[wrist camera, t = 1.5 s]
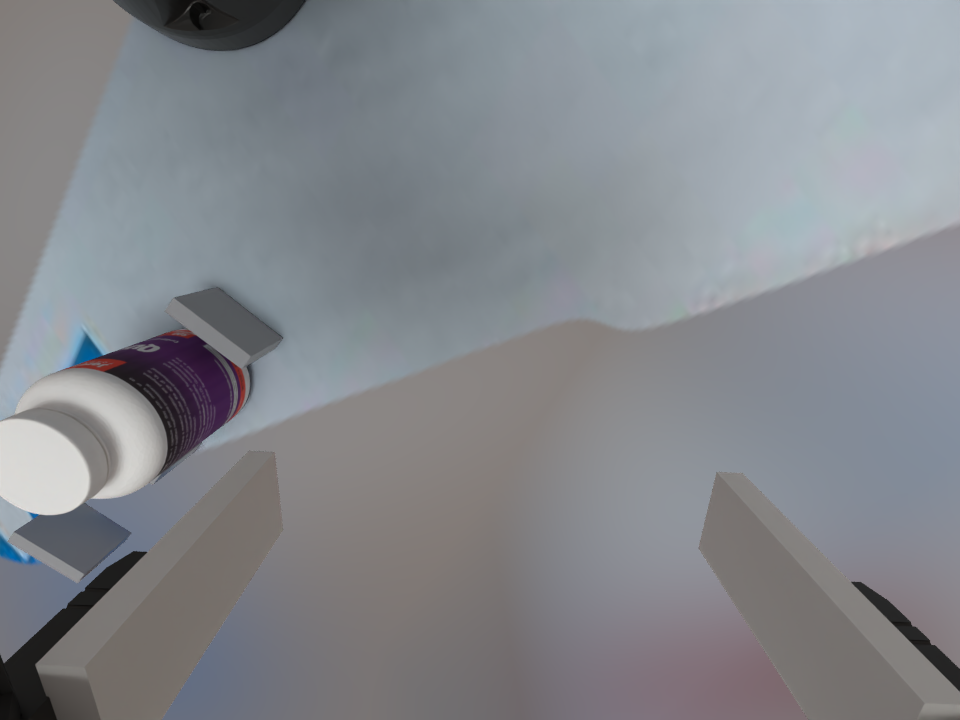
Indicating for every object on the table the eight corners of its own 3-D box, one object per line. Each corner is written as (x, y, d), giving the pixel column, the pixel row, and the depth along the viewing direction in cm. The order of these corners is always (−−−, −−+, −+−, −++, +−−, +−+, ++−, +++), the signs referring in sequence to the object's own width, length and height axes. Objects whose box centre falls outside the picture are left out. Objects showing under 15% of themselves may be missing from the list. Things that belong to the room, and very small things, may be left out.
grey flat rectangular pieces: (27, 480, 39) (-36, 515, 34) (177, 255, 33) (125, 261, 29) (125, 541, 41) (77, 583, 36) (283, 338, 35) (251, 356, 30)
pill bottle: (210, 306, 35) (27, 361, 21) (276, 389, 36) (149, 491, 23) (133, 358, 36) (-87, 443, 22) (201, 436, 38) (38, 559, 24)
